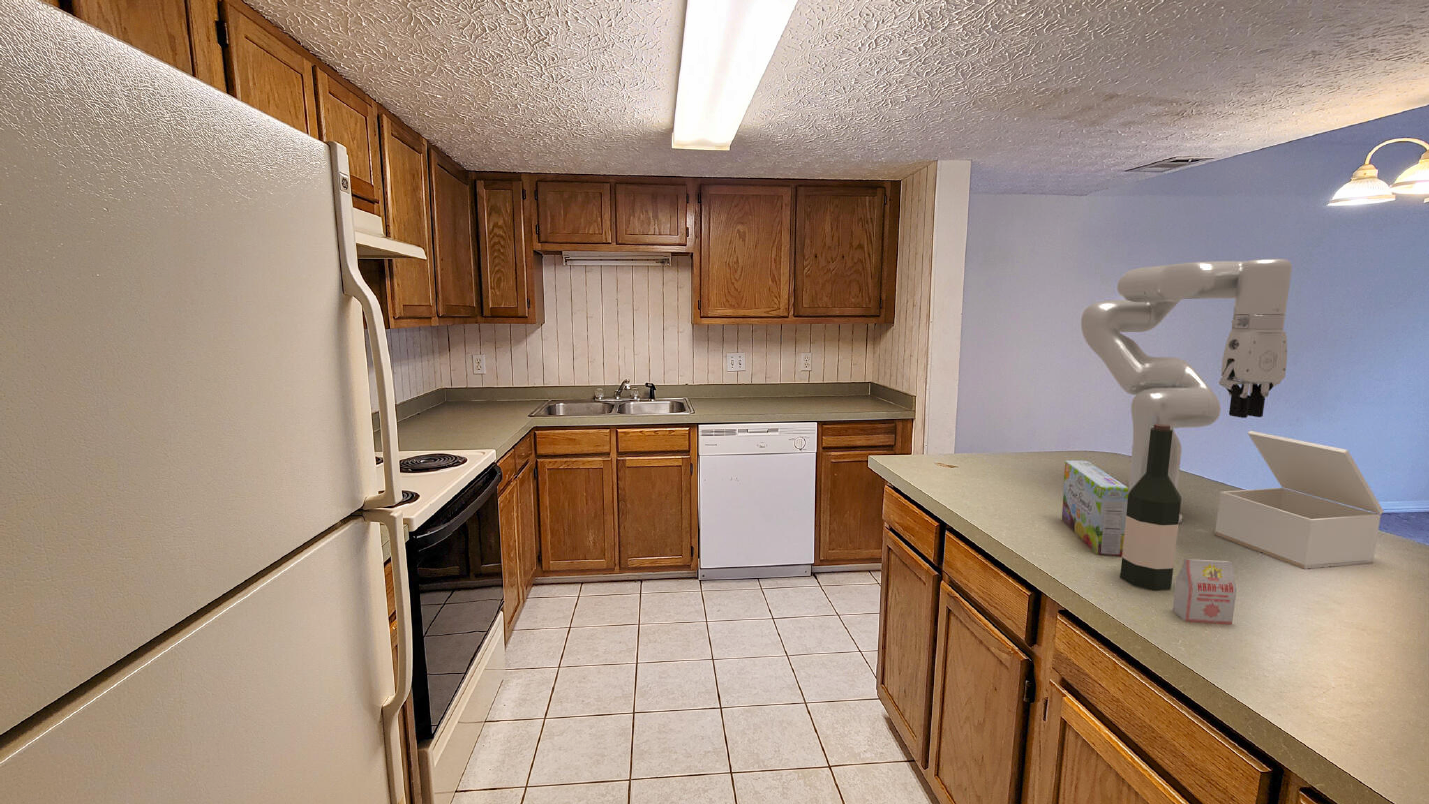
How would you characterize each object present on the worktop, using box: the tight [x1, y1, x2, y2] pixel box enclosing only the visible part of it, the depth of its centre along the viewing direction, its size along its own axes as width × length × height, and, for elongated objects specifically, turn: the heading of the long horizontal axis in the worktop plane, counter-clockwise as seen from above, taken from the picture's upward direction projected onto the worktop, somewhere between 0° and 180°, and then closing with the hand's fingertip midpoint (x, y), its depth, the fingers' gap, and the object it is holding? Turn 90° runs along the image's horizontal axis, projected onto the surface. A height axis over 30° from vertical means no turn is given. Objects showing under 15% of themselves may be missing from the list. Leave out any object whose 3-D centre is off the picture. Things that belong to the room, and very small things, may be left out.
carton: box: [1214, 487, 1382, 570], centre depth 125 cm, size 16×18×10 cm
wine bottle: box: [1119, 424, 1182, 592], centre depth 109 cm, size 8×8×30 cm
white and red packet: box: [1172, 558, 1237, 625], centre depth 98 cm, size 4×7×10 cm, turn 80°
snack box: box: [1061, 460, 1129, 557], centre depth 132 cm, size 21×6×15 cm, turn 168°
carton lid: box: [1247, 430, 1385, 515], centre depth 123 cm, size 17×18×1 cm
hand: (1245, 415), depth 119 cm, fingers open, 2 cm apart
